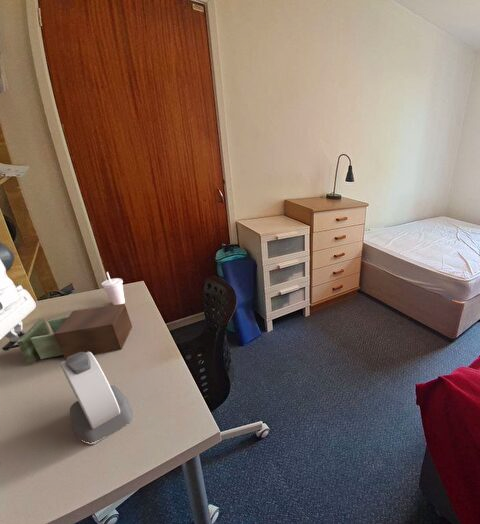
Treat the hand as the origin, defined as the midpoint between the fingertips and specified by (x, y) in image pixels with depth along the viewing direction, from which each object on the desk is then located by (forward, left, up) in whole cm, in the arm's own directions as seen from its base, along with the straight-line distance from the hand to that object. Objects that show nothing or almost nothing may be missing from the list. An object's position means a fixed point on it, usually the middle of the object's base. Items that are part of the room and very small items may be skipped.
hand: (18, 338), depth 82 cm
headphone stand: (+28, -33, -7) cm, 44 cm away
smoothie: (+16, +26, -7) cm, 31 cm away
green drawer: (+7, 0, -5) cm, 9 cm away
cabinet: (+18, 0, -6) cm, 19 cm away
